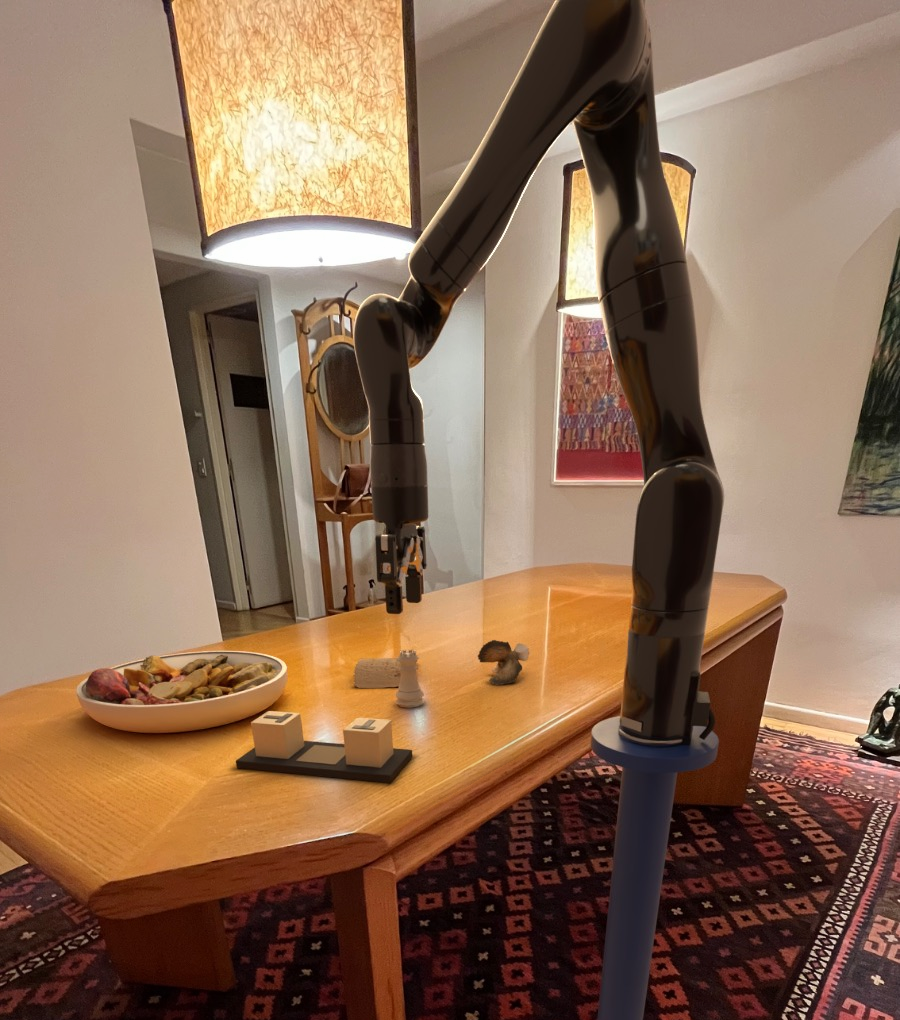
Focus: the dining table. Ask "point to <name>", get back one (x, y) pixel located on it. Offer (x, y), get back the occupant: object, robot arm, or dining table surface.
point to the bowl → (183, 691)
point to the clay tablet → (377, 673)
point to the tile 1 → (277, 734)
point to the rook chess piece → (409, 681)
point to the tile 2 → (368, 742)
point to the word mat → (327, 763)
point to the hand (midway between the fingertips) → (404, 607)
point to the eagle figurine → (504, 660)
